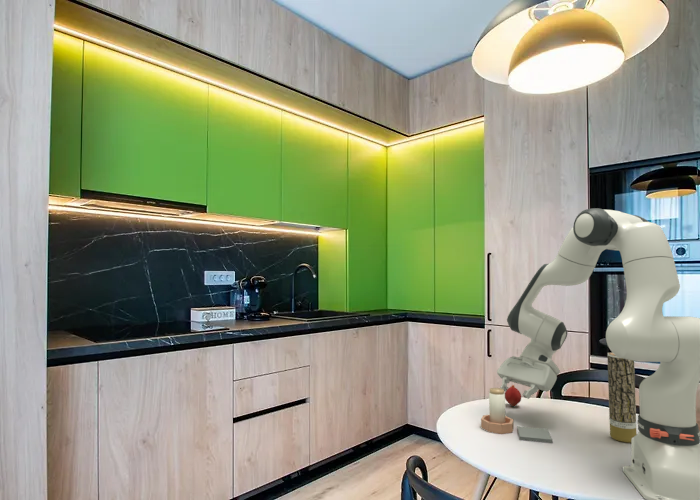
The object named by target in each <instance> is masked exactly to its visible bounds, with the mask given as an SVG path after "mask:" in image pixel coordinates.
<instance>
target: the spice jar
mask: <svg viewBox="0 0 700 500" xmlns="http://www.w3.org/2000/svg"><path fill="white" fill-rule="evenodd" d="M488 399H489V400H488V401H489V405H488V406H489V407H488V409H489V415H490V422H491V423H498V424H504V423H505V416H506V399H505V391H504V389H501V388H500V387H490V388H489V391H488Z"/></svg>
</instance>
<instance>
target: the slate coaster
mask: <svg viewBox="0 0 700 500" xmlns="http://www.w3.org/2000/svg"><path fill="white" fill-rule="evenodd" d="M516 428H517V434H518V437H519V441H528V442H538V443H548V444H553V443H554V440H553V437H552V435H551V433H550V430H549V428H539V427H532V426H531V427H530V426H516Z"/></svg>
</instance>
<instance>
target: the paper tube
mask: <svg viewBox="0 0 700 500" xmlns="http://www.w3.org/2000/svg"><path fill="white" fill-rule="evenodd" d="M606 356H607V381H608V382H607V384H608V385H607V386H608V411H609V412H608V414H609V416H608V417H609V435H610V438H612V439H613V440H615V441H618V442H621V443H630V444H631V440H632V438H633V437H634V436H636V435H637V434H638V433H637V405H636V382H635V381H636V377H635V361H633V360H627V359H623V358H619V357H617V356H616V355H615V354H613V352H612V351H611V352H607V355H606Z"/></svg>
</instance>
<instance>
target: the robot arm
mask: <svg viewBox="0 0 700 500" xmlns="http://www.w3.org/2000/svg"><path fill="white" fill-rule="evenodd" d="M605 250H610V251H619V253H620V257H621V261H622V267H623V274H624V279H625V287H626V298H625V303H624V307H623V308H622V311H621V312H620V313H619V314H618V316H617V317H616V318H614V319H613V320H612V321H611V322H610V323H609V325H608V326H607V328H606V331H605V340H606V343H607V347H608V348H609V350H610V351H611V353H612V352H613V354H615V355H616V356H617V357H619V358H623V359H627V360H633V361H634V362H638V363H640V362H644V363H645V362H648V363H660V364H659V365H658V368H657V369H656V370H655V372H654V373H652V374H650V375H649V376H647V377H645V378H644V379H642V380H641V382H640V384H639V387H638V400H639V403H638V404H639V414H638V415H637V419H636V424H637V430H638V433H637V435H636V436H634V437H633V438H632V440H631V443H630V444H631V446H630V447H631V448H630V449H631V455H630V457H631V458H630V459H631V460H630V463H631V464H630V465H625V466H623V469H622V472H623V473H624V474H625V476H627V478H628V479H629V481H630V482H631V484H632V485H633V486H634V487H635V488H636V490H637V491H638V492H639V494H640V495H641V496H642V498H643V499H645V500H700V428H699V424H698V423H697V412H696V411H697V406H696V405H697V390H698V387H699V384H700V317H697V316H696V317H695V316H673V315H672V316H671V315H670V316H666V315H665V316H664V314H663V306H664V304H665V303H666V302H669V301H670V300H672V299H673V298H674V297H676V296H677V294H678V293H679V291H680V288H681V286H680V285H681V284H680V281H679V276H678V272H677V267H676V262H675V260H674V255H673V252H672V248H671V246H670V243H669V240H668V239H667V236H666V234H665V232H664V230H663V228H662V227H661V226H660V225H658V223H655V222H650V221H649V220H648V219H645V218H644V217H642V216H639V215H636V214H629V213H625V212H623V211H619V210H613V209H602V208H600V207H599V208H598V207H597V208H595V207H594V208H587V209H584V210H582V211H580V212H579V213H578V214H577V216H576V218H575V219H574V222H573V226H572V227H571V229H570V230H569V232H568V233H567V235H566V236H565V238H564V240H563V241H562V243H561V245H560V248H559V250H558V253H557V254H556V256H555V258H554V259H553V260H552V261H551V262H550V263H544V264H543V265H542V266H541V267H539V268H538V269H537V271H536V273H535V274H534V275H533V277H532V278H531V280H530V281H529V283H528V285H527V286H526V288H525V289H524V290H523V293H522V294H521V296H520V297H519V299H518V300H517V302H516V303H515V305H513V307H512V308H511V309H510V310H509V313H508V315H507V318H506V322H507V324H508V326H509V329H510V330H511V331H512V332H514V333H515V332H516V333H518V334H520V335H523V336H525V337H527V338H529V339H530V342H529V343H528V344H527V345H526V346H525V347H524V349H523V350H522V352H521V354H520V355H519V356H515V355H512V356H510V357H508V358H506V359H505V360H504V361H503V362H502V363H501V365H500V366H499V368H498V369H497V371H496V372H497V375H498V377H499V378H500V379H502V380H501V383H502V384H501V386H500V387H499V388H501V389H504V393H505V392H506V391H507V390H508V388H509V387H508V384H509V383H510V382H511V383H515V384H517V385H518V384H519V385H521V386H525V387H528V388H529V389H527V390H524V392H523V393H522V397H524V398H525V399H528V400H529V399H530V398H531V396H532V395H535V394H536V393H538V391H540V390H541V391H542V392H543V391H544V392H549V391H551V390H552V388H553V387H554V385H555V384H556V381H557V379H558V377H557V376H559V374H560V372H561V370H560V369H559V367H558V366H557V364H556V363H555V362H554V360H552V358H553V355H554V354H556V352H558V350H560V349H561V347H562V346H563V344H564V342H566V339H567V338H568V330H567V327H566V325H565V323H564V322H563V321H561V320H560V319H558V318H556V317H554V316H551V315H549V314H548V313H544V312H543V311H540V310H538V309H536V308H534V307H533V303H534V301H535V300H536V298H537V297H538V295H539V294H540V292H541V291H542V289H543V288H544V287H545V286H565V287H567V286H568V287H569V286H570V287H572V286H578V285H581V284H583V283H585V282H587V281H588V280H589V278H590V277H591V275H592V274H593V272H594V270H595V268H596V266H597V262H598V261H599V258H600V255H601V254H602V252H604V251H605Z"/></svg>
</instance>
